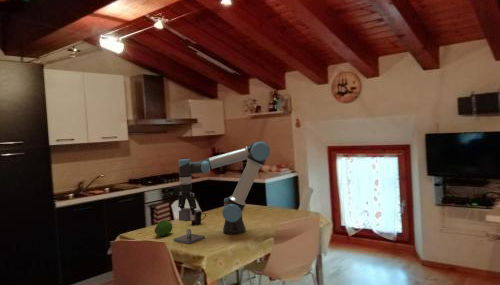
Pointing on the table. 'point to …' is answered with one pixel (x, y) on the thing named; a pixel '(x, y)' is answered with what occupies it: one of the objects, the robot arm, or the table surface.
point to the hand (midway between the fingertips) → (188, 219)
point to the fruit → (163, 227)
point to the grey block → (186, 214)
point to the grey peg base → (189, 238)
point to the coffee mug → (198, 218)
